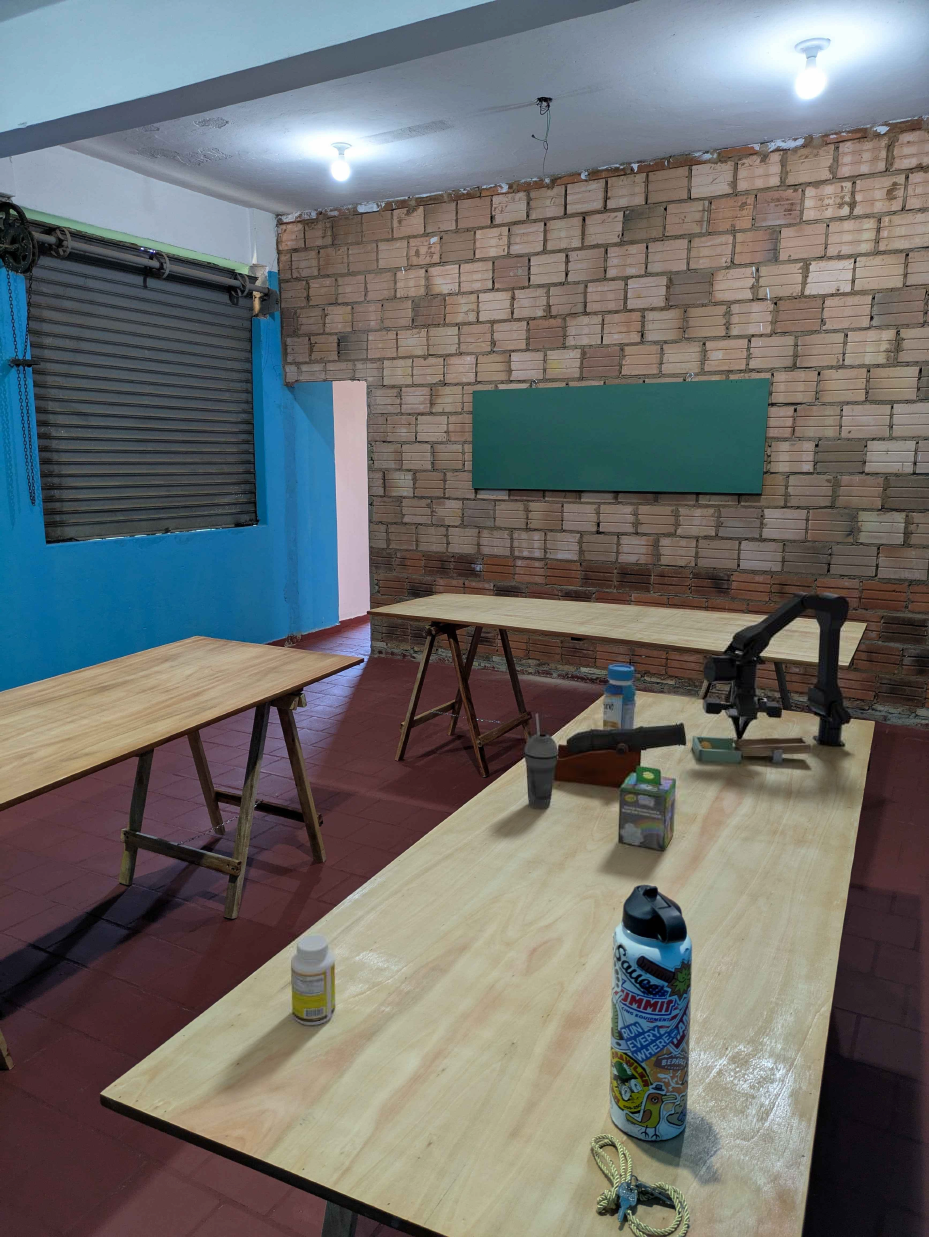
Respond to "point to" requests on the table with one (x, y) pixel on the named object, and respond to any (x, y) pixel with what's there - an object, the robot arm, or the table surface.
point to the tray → (716, 750)
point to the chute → (772, 746)
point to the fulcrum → (776, 756)
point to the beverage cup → (540, 768)
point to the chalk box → (647, 809)
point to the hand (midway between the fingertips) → (738, 740)
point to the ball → (705, 745)
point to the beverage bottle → (619, 698)
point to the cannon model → (611, 753)
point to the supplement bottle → (313, 980)
